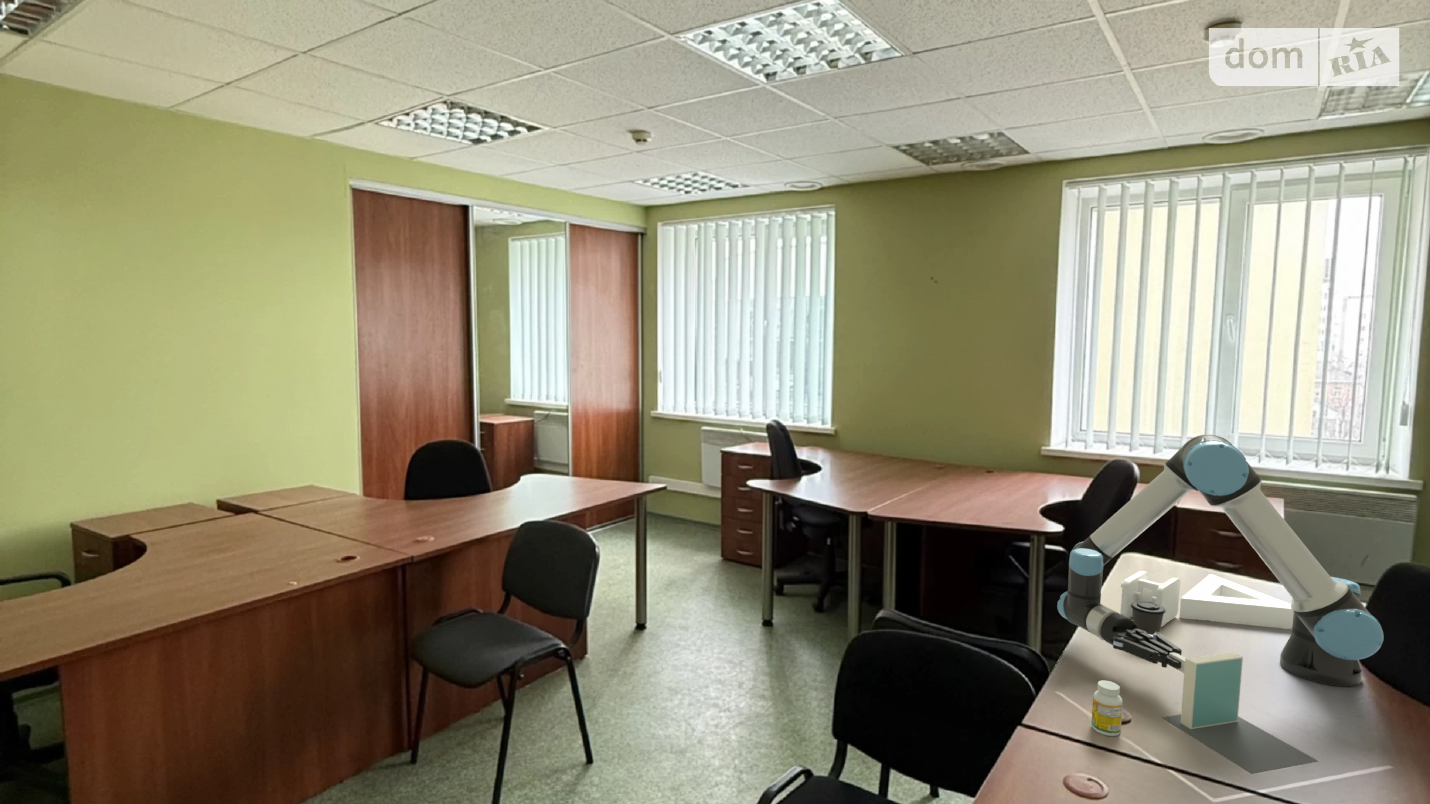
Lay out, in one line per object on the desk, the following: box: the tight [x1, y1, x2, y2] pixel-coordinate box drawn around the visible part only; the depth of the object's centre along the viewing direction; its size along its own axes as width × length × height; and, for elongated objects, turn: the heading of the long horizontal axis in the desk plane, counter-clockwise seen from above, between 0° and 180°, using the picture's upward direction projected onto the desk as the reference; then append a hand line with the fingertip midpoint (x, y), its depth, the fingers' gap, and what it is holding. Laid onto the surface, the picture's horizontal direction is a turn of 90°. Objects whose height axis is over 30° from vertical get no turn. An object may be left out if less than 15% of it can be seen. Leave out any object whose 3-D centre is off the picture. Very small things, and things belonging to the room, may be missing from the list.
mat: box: [1161, 713, 1319, 775], centre depth 147 cm, size 20×16×1 cm
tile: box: [1180, 651, 1244, 729], centre depth 152 cm, size 2×12×14 cm, turn 104°
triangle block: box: [1179, 573, 1294, 630], centre depth 217 cm, size 30×26×6 cm
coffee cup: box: [1130, 601, 1166, 635], centre depth 193 cm, size 8×8×10 cm
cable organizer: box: [1120, 570, 1181, 628], centre depth 208 cm, size 15×11×12 cm
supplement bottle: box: [1091, 679, 1124, 737], centre depth 151 cm, size 5×5×10 cm
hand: (1197, 672), depth 155 cm, fingers closed
